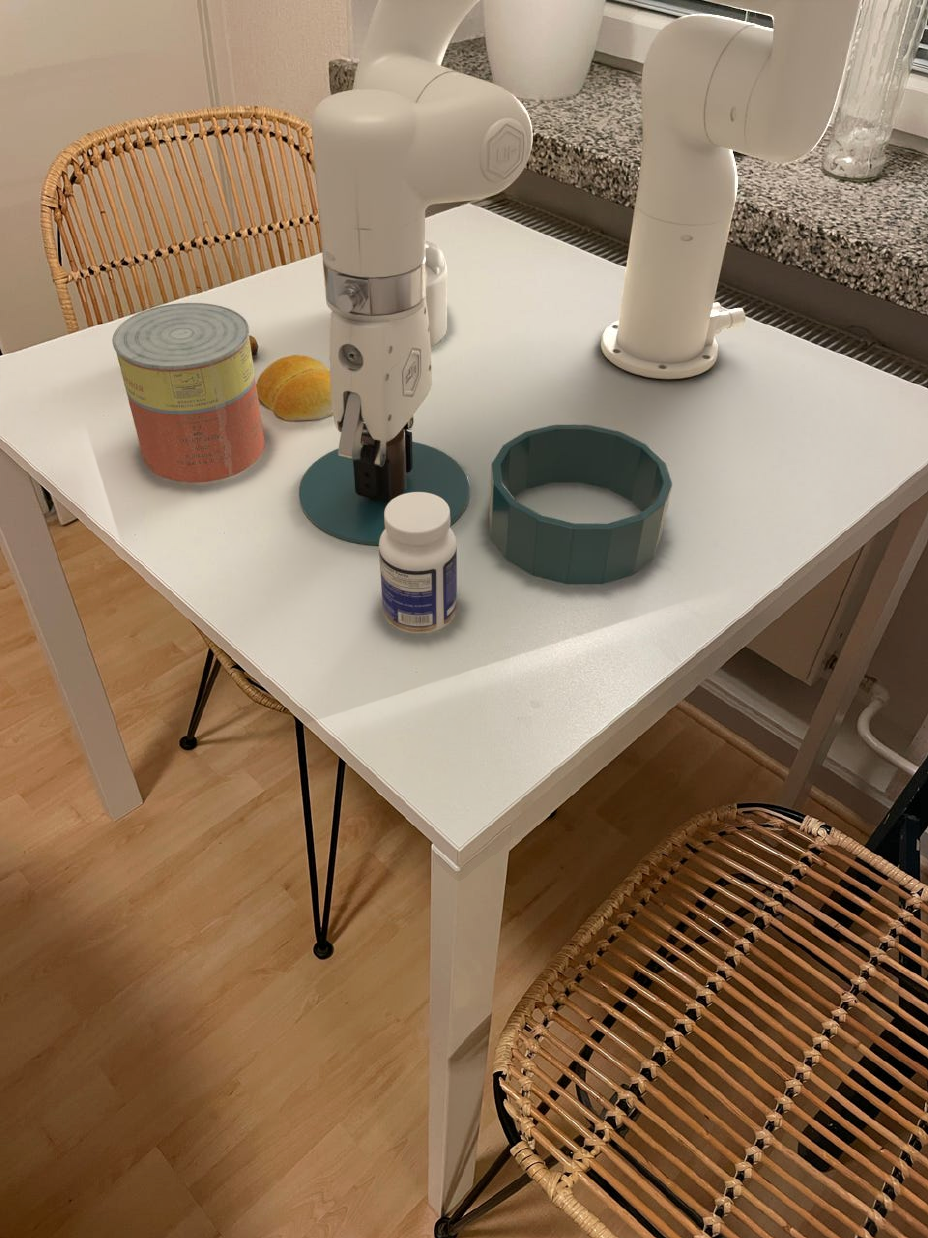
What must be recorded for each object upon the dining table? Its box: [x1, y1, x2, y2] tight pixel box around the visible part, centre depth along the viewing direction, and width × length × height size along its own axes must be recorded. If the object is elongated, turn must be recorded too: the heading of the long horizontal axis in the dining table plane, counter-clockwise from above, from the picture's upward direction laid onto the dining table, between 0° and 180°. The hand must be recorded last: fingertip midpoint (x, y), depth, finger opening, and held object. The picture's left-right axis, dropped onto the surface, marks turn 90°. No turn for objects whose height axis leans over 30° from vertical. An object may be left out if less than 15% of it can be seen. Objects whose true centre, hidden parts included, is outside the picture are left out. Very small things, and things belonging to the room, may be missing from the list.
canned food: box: [112, 302, 265, 483], centre depth 85 cm, size 11×11×12 cm
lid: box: [298, 428, 471, 546], centre depth 82 cm, size 15×15×7 cm
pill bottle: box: [378, 492, 458, 634], centre depth 71 cm, size 6×6×10 cm
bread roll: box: [256, 354, 333, 422], centre depth 94 cm, size 8×9×4 cm
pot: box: [488, 424, 673, 585], centre depth 79 cm, size 14×14×6 cm
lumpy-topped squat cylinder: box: [425, 240, 448, 348], centre depth 104 cm, size 10×13×9 cm
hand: (384, 480), depth 83 cm, fingers closed on lid, 3 cm apart
